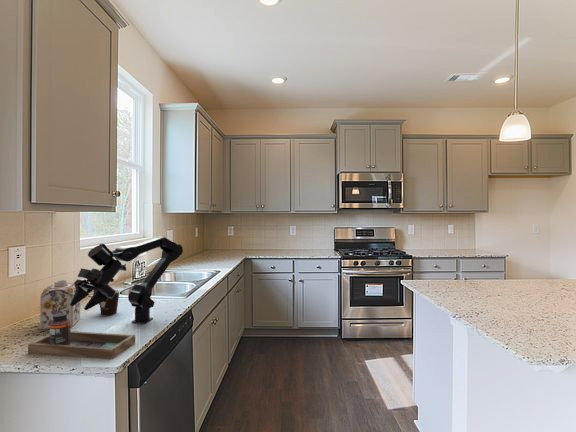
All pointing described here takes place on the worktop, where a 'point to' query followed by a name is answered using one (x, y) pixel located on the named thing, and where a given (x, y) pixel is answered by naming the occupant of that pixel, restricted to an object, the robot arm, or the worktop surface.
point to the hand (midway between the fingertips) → (77, 307)
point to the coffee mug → (110, 305)
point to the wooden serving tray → (85, 345)
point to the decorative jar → (58, 303)
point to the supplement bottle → (60, 329)
